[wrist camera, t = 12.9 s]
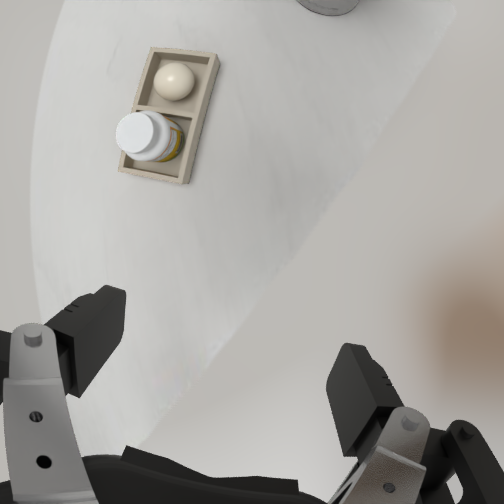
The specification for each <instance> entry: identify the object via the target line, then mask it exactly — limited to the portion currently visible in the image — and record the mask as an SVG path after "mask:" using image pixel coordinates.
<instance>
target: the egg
mask: <svg viewBox="0 0 504 504" xmlns="http://www.w3.org/2000/svg"><path fill="white" fill-rule="evenodd" d="M194 81H195V79H194V74H193V72H192V70H191V69H190V68H189V67H188V66H187V65H185V64H183V63H179V62H172V63H168V64H166V65H164V66H162V67H161V68H160V69H159V70H158V71H157V73H156V74H155V77H154V81H153V85H154V89H155V91H156V93H157V94H158V95H159V96H160V97H161V98H163V99H165V100H169V101H176V100H180V99H182V98H184V97H186V96H187V95H188V94H189V93H190V92H191V90H192V89H193V86H194Z"/></svg>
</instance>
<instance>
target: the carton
mask: <svg viewBox="0 0 504 504" xmlns="http://www.w3.org/2000/svg"><path fill="white" fill-rule="evenodd" d="M172 62H179V63H183V64H185V65H187V66H188V67H189V68H190V69H191V70H192V72H193V74H194V79H195V81H194V86H193V89H192V90H191V92H190V93H189V94H188V95H187V96H186V97H184V98H182V99H180V100H176V101H169V100H165V99H163V98H161V97H160V96H159V95H158V94H157V93H156V91H155V89H154V85H153V81H154V77H155V74H156V73H157V71H158V70H159V69H160V68H161V67H162V66H164V65H166V64H168V63H172ZM219 65H220V62H219V59H218V57H217V54H214V53H207V52H199V51H191V50H181V49H170V48H156V47H151V49H150V51H149V54H148V57H147V60H146V63H145V66H144V69H143V73H142V76H141V79H140V82H139V86H138V89H137V92H136V96H135V100H134V103H133V107H132V111H131V113H133V112H140V111H144V110H151V111H155V112H158V113H160V114H162V115H163V116H165V117H167V118H169V119H171V120H173V121H174V122H176V123H177V124H178V125H179V126H180V127H181V128H182V130H183V132H184V137H185V141H184V146H183V149H182V150H181V152H180V153H179V155H178V156H177V157H175V158H174V159H172V160H170V161H167V162H146V161H137V160H134V159H132V158H131V157H129V156H128V155H127V154H126V153H125V151H123V150H122V153H121V157H120V162H119V167H118V172H123V173H129V174H134V175H139V176H144V177H149V178H154V179H159V180H164V181H168V182H173V183H178V184H187V183H189V180H190V176H191V171H192V167H193V162H194V158H195V154H196V150H197V146H198V142H199V138H200V134H201V130H202V126H203V122H204V118H205V115H206V111H207V107H208V103H209V100H210V96H211V93H212V89H213V86H214V82H215V79H216V75H217V72H218V69H219Z"/></svg>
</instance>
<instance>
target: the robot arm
mask: <svg viewBox="0 0 504 504" xmlns="http://www.w3.org/2000/svg"><path fill="white" fill-rule="evenodd" d="M298 1H299V2H300V3H301V4H302V5H303V6H305V7H306V8H308V9H310V10H311V11H314V12H317V13H319V14H324V15H333V16H334V15H342V14H345V13H348V12H349V11H351V10H352V9H353V8H354V7H355V5H356V4H357V2H358V1H359V0H298ZM125 305H126V292H125V290H122V289H119V288H115V287H112V286H109V285H104V286H103V287H102V288H101V289H99V290H98V291H97V292H96V293H95V294H91V293H89V294H86V295H83V296H80V297H78V298H77V299H75V300H74V301H73V302H72V303H71V304H69V305H68V306H66V307H65V308H64V310H61V311H60V312H59V313H58V314H56V315H55V316H54V317H53V318H51V319H50V320H49V321H48V322H47V323H45V324H44V325H42V324H38V323H28V324H24V325H20V326H19V327H17V328H16V329H15V330H14V331H13V333H9V332H5V331H1V330H0V405H1V403H2V402H3V412H4V433H5V445H6V454H7V462H8V469H9V476H10V480H9V481H5V482H1V483H0V504H455V503H454V500H453V498H452V495H451V493H450V490H449V488H448V486H447V483H446V482H447V481H448V480H449V479H450V478H451V477H452V476H453V475H454V474H455V473H456V474H457V476H458V478H459V481H460V483H461V485H462V487H463V496H462V498H461V500H460V502H459V503H457V504H504V472H503V470H502V468H501V467H500V465H499V463H498V461H497V460H496V458H495V456H494V455H493V453H492V451H491V450H490V448H489V446H488V444H487V443H486V441H485V440H484V438H483V437H482V435H481V433H480V432H479V430H478V429H477V428H476V427H475V426H474V425H472V424H471V423H469V422H467V421H464V420H455V421H453V422H452V423H451V424H450V426H449V427H448V428H447V430H446V431H443V430H439V429H434V428H430V424H429V421H428V420H427V418H426V417H425V416H424V415H423V414H422V413H420V412H419V411H417V410H415V409H413V408H409V407H405V406H404V405H403V403H402V401H401V399H400V397H399V395H398V394H397V392H396V390H395V388H394V386H392V383H391V381H390V379H388V376H387V374H386V372H385V371H384V369H383V368H382V367H381V366H380V365H379V364H378V363H377V362H376V361H375V360H373V359H372V358H371V356H370V354H369V352H368V350H367V349H366V347H365V346H363V345H356V344H350V343H345V344H344V345H343V346H342V347H341V349H340V352H339V354H338V356H337V359H336V361H335V363H334V366H333V368H332V370H331V372H330V374H329V377H328V380H327V384H326V392H327V396H328V399H329V403H330V406H331V410H332V414H333V418H334V421H335V425H336V429H337V433H338V437H339V441H340V444H341V448H342V452H343V456H344V457H346V456H347V457H351V456H352V457H357V458H358V461H357V462H356V464H355V465H354V466H353V467H352V469H351V471H350V472H349V474H348V475H347V477H346V478H345V480H344V481H343V482H342V484H341V485H340V487H339V488H338V489H337V491H336V492H335V494H334V495H333V497H332V498H331V499H330V500H329V502H328V503H326V502H324V501H322V500H321V499H318V498H316V497H314V496H312V495H309V494H306V493H304V492H300V491H299V488H298V480H293V479H281V478H269V477H261V476H249V477H230V478H229V477H226V478H213V477H208V476H206V475H203V474H201V473H199V472H196V471H194V470H192V469H189V468H187V467H185V466H183V465H181V464H179V463H177V462H174V461H172V460H170V459H168V458H165V457H162V456H158V455H154V454H151V453H148V452H145V451H142V450H139V449H136V448H133V447H130V446H127V445H126V447H125V450H124V452H123V454H122V456H119V455H106V454H105V455H91V456H85V457H81V455H80V452H79V448H78V445H77V441H76V438H75V434H74V431H73V427H72V423H71V419H70V415H69V411H68V406H67V402H66V397H65V396H66V395H67V394H68V393H69V394H71V395H73V396H76V397H78V398H80V397H81V395H82V394H83V393H84V391H85V390H86V388H87V387H88V386H89V384H90V383H91V381H92V380H93V379H94V377H95V376H96V374H97V373H98V372H99V370H100V369H101V368H102V366H103V365H104V363H105V362H106V361H107V359H108V358H109V357H110V355H111V354H112V353H113V351H114V350H115V349H116V347H117V346H118V345H119V343H120V341H121V339H122V335H123V331H124V319H125Z"/></svg>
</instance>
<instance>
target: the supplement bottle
mask: <svg viewBox="0 0 504 504" xmlns="http://www.w3.org/2000/svg"><path fill="white" fill-rule="evenodd" d="M116 141H117V144H118V145H119V147H120V148H121V149H122V150H123V151H125V153H126V154H127V155H128V156H129V157H131V158H132V159H134V160H137V161H146V162H167V161H170V160H172V159H174V158H175V157H177V156H178V155H179V153H180V152H181V150H182V149H183V146H184V141H185V137H184V132H183V130H182V128H181V127H180V126H179V125H178V124H177V123H176V122H174V121H173V120H171V119H169V118H167V117H165V116H163V115H162V114H160V113H158V112H155V111H151V110H144V111H140V112H133V113H130V114H128V115H126V116H125V117H124V118H123V119H122V120H121V121H120V122H119V124H118V126H117V129H116Z"/></svg>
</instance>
